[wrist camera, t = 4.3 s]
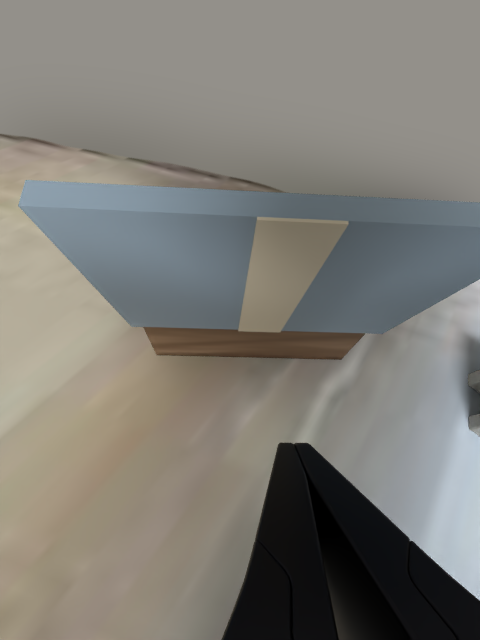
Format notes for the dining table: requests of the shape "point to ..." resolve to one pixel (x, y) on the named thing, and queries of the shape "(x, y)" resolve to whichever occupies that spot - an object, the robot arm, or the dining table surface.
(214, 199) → the box lid
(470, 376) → the egg carton
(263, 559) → the robot arm
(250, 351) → the walnut box
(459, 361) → the dining table surface
